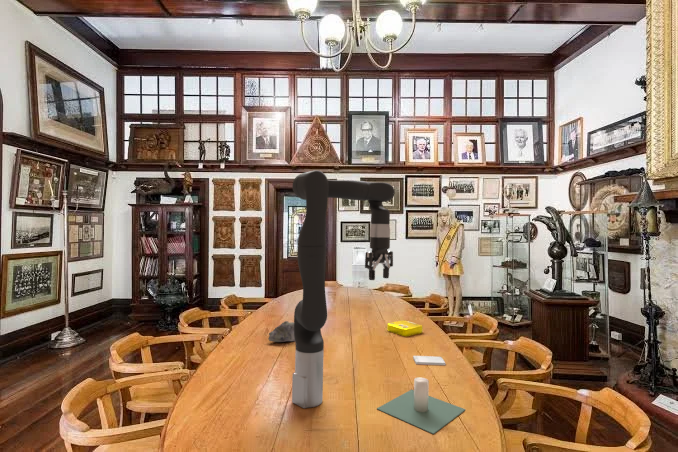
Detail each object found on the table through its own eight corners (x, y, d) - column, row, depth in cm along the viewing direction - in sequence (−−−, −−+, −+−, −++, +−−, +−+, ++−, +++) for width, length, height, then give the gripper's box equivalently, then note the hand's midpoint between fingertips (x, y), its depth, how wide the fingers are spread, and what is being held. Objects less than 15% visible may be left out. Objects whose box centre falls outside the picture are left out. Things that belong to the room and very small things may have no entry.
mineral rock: (267, 344, 182) (268, 323, 182) (272, 337, 192) (273, 318, 192) (294, 345, 181) (294, 324, 181) (297, 338, 192) (297, 318, 192)
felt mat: (433, 434, 105) (433, 433, 105) (376, 409, 119) (376, 408, 119) (465, 410, 119) (465, 409, 119) (411, 390, 133) (411, 389, 133)
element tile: (424, 333, 207) (424, 324, 207) (405, 337, 198) (405, 328, 198) (403, 327, 219) (404, 319, 219) (385, 331, 210) (385, 322, 210)
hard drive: (441, 356, 166) (413, 355, 167) (445, 362, 158) (415, 361, 159) (441, 360, 166) (412, 358, 167) (445, 366, 158) (415, 365, 159)
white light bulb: (423, 413, 116) (423, 384, 116) (410, 408, 119) (411, 380, 119) (430, 408, 119) (431, 380, 119) (418, 403, 122) (419, 376, 122)
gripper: (376, 236, 134) (375, 282, 134) (399, 236, 144) (398, 278, 144) (360, 235, 139) (359, 279, 139) (383, 235, 149) (382, 276, 149)
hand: (379, 279), depth 141 cm, fingers open, 8 cm apart
